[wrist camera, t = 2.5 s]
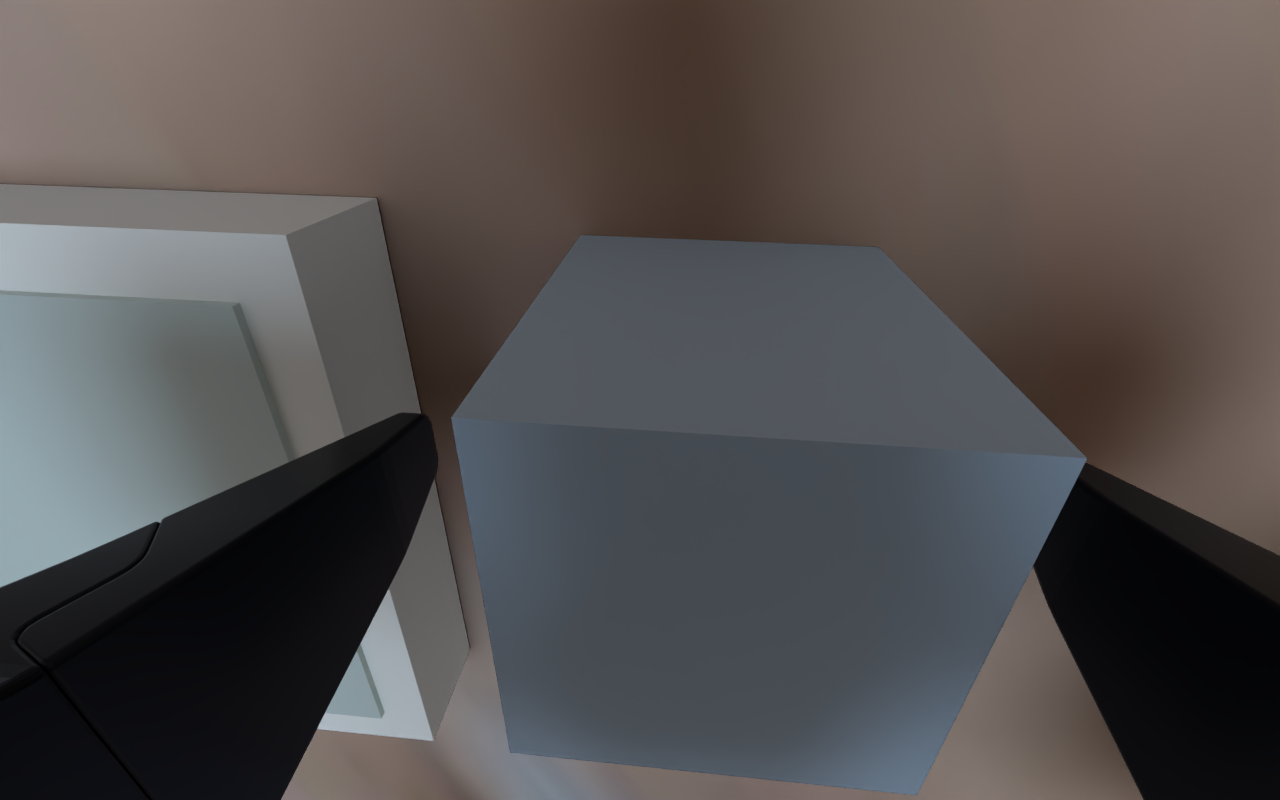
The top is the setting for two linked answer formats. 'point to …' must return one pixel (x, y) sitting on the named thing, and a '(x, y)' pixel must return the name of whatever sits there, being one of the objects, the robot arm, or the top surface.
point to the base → (209, 391)
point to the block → (748, 511)
